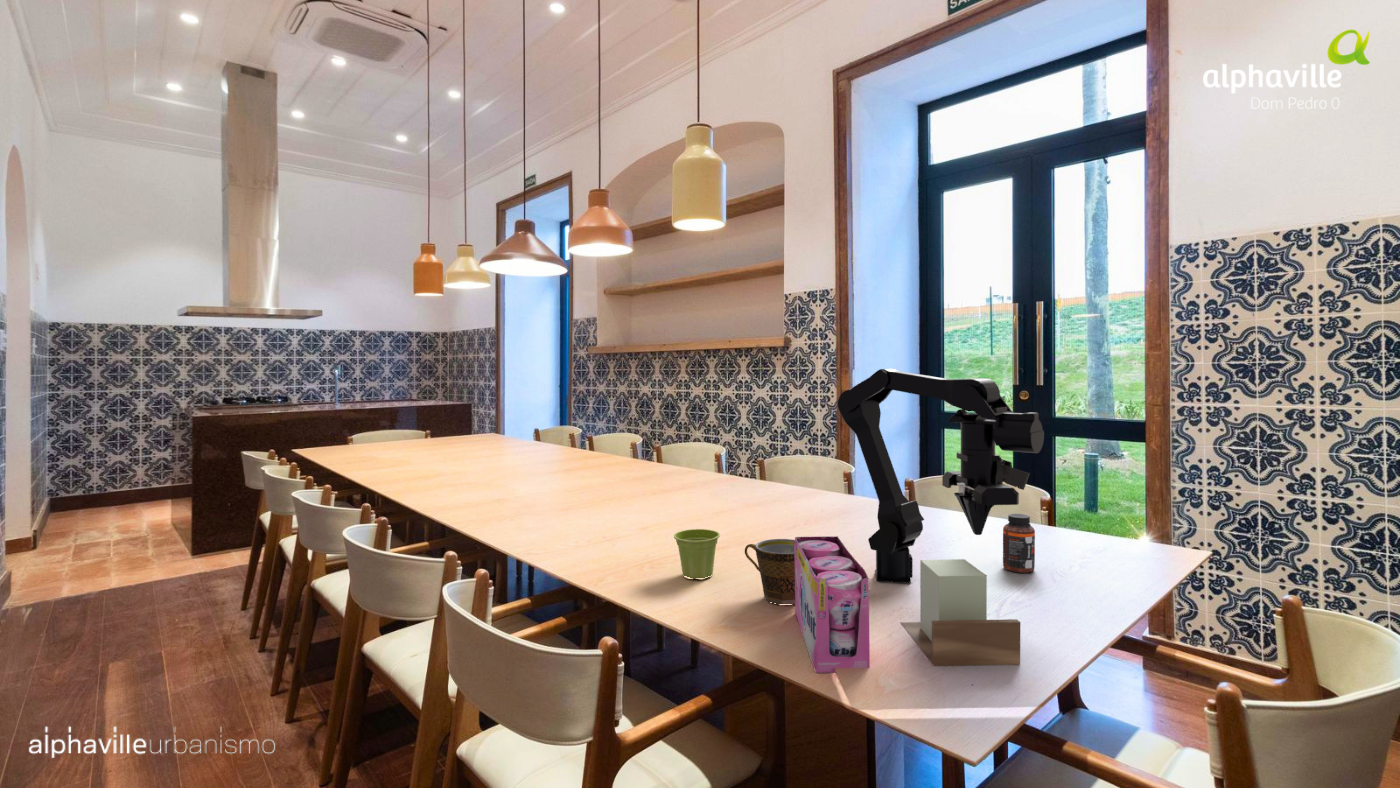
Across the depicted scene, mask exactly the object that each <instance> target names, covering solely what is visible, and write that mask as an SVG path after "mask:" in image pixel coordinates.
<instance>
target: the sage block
mask: <svg viewBox="0 0 1400 788" xmlns="http://www.w3.org/2000/svg"><path fill="white" fill-rule="evenodd" d="M919 560H920V563H919V564H920V566H919V567H920V568H919V569H920V572H919V574H920V575H919V576H920V580H919V581H920V582H919V583H920V586H919V587H920V589H919V590H920V592H919V593H920V596H919V598H920V601H919V603H920V604H919V605H920V606H919V607H920V609H919V610H920V614H919V615H920V619H919V620H920V621H919V622H920V628H921V629H922V631H923V632H924V633H925V634H926V635H927V636H928V638H929V639H930V640H931V641H932V621H942V620H988V618H987V614H988V613H987V609H988V608H987V606H988V605H987V603H988V602H987V601H988V600H987V598H988V597H987V594H988V593H987V590H988V589H987V588H988V586H987V582H988V581H987V579H988V577H987V576H988V575H987V574H986V573H984V572H982V571H981V570H980V569H978V568H977V567H976V566H975V565H973V564H971V562H969V561H968V560H966V559H963V558H961V559H960V558H959V559H958V558H957V559H953V558H952V559H919Z"/></svg>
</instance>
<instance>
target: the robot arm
mask: <svg viewBox="0 0 1400 788" xmlns="http://www.w3.org/2000/svg"><path fill="white" fill-rule="evenodd" d="M892 391H896V392H901V393H905V394H906V393H907V394H911V395H912V394H913V395H917V396H923V397H928V398H934V399H939V400H941V401H943V402H944V403H947V404H948V405H950V406H953V407H956V408H958V409H957V410H956V412H955V413H954V414H953V415H952V416H951V417H950V418H948V422H949V423H955V424H957V423H958V424H960V452H958V451H957V452H956V459H959V460H960V471H959V470H958V471H957V470H955V471H954V470H953V471H951V470H950V471H946V472H945V473H944V474H942V476H941V477H942V481H941V482H942V484H941V485H942V486H943V487H945V488H947V489H951V488H952V486H955V487H956V486H958V492H954V493H953V494H954V496H955V498H956V499H957V501H958V503H959V505H960V507H961V509H962V512H963V513H964V516H965V517H966V520H967V522H968V524H969V526H970V528H971V530H972V532H973V534H974V535H976V536H980V535H982V534H983V531H984V529H985V527H986V526H985V525H986V522H987V519H988V517H989V515H990V514H989V513H990V511H992V510H991V509H992V508H993V507H995V506H1017V505H1019V503H1020V502H1019V501H1020V500H1019V499H1020V498H1019V497H1020V493H1019V492H1018V491H1017V490H1016V489H1015V488H1017V489H1019V490H1023V491H1024V490H1025V488H1026V484H1027V483H1028V479H1029V477H1030V472H1026V471H1023V470H1020V469H1018V468H1015V467H1013V463H1012V462H1011V461H1008V460H1006V459H1002V456H1001V455H998V454H996V446H998V448H999V449H1000V450H1001V451H1005V452H1018V453H1029V454H1030V453H1032V454H1039V453H1040V452H1041V450H1042V448H1043V446H1044V441H1045V440H1044V439H1045V431H1044V430H1043V425H1042V423H1041V421H1040V419H1039V415H1040V414H1039V413H1038V412H1033V411H1032V412H1031V411H1030V412H1024V413H1023V412H1022V413H1021V412H1013V411H1012V409H1011V408H1010V407H1009V405H1008V404H1007V402H1006V401H1005V400H1004V399H1003V397H1002V396H1001V392H1000V391H1001V390H1000V388H999V385H998V384H997V383H996V382H995V381H994V380H993V379H990V378H986V377H985V378H952V379H951V378H945V377H937V376H933V375H932V376H931V375H925V374H919V373H913V372H907V371H903V370H902V371H899V370H897V369H895V368H880V369H877V370H876V371H875V372H873V374H871V376H869V377H868V378H866V379H864V380H863V381H860V383H857V384H855V385H854V386H853V387H852V388H850V389H848V390H847V389H846V390H844V391H842V392H841V394H840V395H839V397H838V399H837V401H836V404H837V410H838V411H839V413H840V415H841V418H842V419H843V421H844V423H845V424H846V425H847V426H848V428H849V429H850V430H851V431H853V433H854V434H855V436H856V438H857V442H858V444H859V447H860V449H861V450H860V451H861V453H862V455H863V459H864V461H865V462H864V463H865V464H866V467H867V471H868V473H869V476H870V479H871V482H872V484H873V488H874V491H875V493H876V496H877V501H878V509H877V518H876V519H877V521H878V522H877V523H878V528H879V529H878V530H877V531H875V532H874V533H873V534H872V535H871V536H870V537H869V538H868V544H869V547H870V549H871V550H872V551H875V570H874V574H875V579H876V582H878V583H879V582H880V583H895V584H896V583H897V584H898V583H899V584H911V583H912V578H913V565H914V564H913V560H914V558H913V556H912V554H911V553H910V547H913V546H914V545H915V542H916V540H917V539H918V538H919V537H920V536H921V534H922V532H923V530H924V527H923V526H924V525H923V521H925V518H924V517H923V516H922V514H921V511H920V506H919V504H918V501H917V500H912V501H910V500H909V499H907V497H906V496H905V495H904V493H903V490H902V488H901V486H900V482H899V479H898V477H897V474H896V472H895V468H894V467H893V463H892V460H891V457H890V454H889V452H888V448H887V446H886V444H885V440H884V437H883V434H882V432H881V429H880V428H881V427H880V423H881V414H882V413H881V408H880V404H881V403H883V402H884V401H885V400H886V399H887V398H888V397H889V395H890V394H891V392H892ZM968 412H973V413H968ZM1011 486H1012V487H1011Z"/></svg>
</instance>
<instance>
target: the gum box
mask: <svg viewBox="0 0 1400 788" xmlns="http://www.w3.org/2000/svg"><path fill="white" fill-rule="evenodd" d="M794 540H795V542H794V556H795V605H794V607H795V609H794V612H795V617H796V619H798V620H797V622H799V623H798V626H799V625H800V626H799V628H800V631H802V632H801V635H802V634H803V635H802V637H803V641H804V643H805V646H806V649H807V652H808V655H809V659H810V661H811V664H812V666H813V669H814V671H815V673H819V674H820V673H821V674H822V673H823V674H824V673H825V674H827V673H828V674H829V673H831V674H832V673H833V674H837V671H836V670H835V669H865V668H867V669H868V668H871V667H870V666H871V665H870V661H871V659H870V655H871V654H870V653H871V652H870V645H871V643H870V601H869V600H870V597H869V595H870V594H869V591H870V590H869V579H870V578H869V576H868V574H867V571H866V570H865V569H864V567H862V565H861V564H860V563H859V562H858V561H857V560H856V558H854V556H853V555H852V554H851V552H850V551H849V550H848V549H847V547H846V546H845V545H844V543H843V542H842V541H841V539H840V538H839V536H835V535H834V536H795V537H794Z"/></svg>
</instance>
